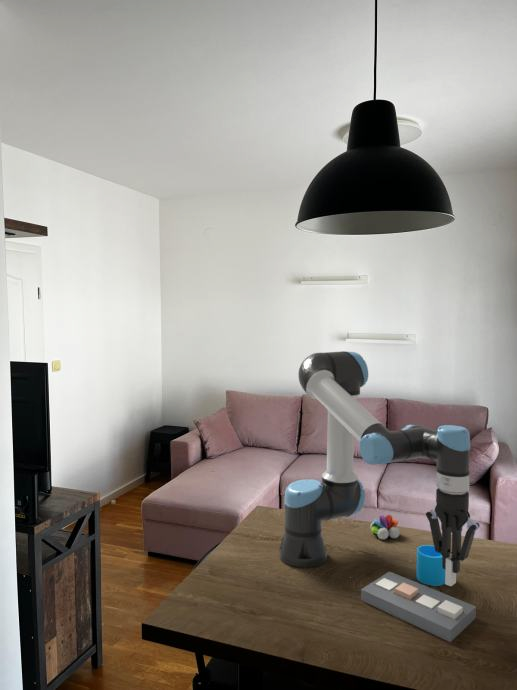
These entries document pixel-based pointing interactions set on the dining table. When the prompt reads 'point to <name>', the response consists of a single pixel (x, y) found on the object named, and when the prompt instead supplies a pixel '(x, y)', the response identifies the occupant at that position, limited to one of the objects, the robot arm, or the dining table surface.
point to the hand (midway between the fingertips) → (450, 583)
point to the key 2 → (406, 591)
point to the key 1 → (386, 584)
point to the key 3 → (427, 602)
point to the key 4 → (450, 610)
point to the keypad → (419, 607)
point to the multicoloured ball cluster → (385, 527)
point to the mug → (430, 566)
